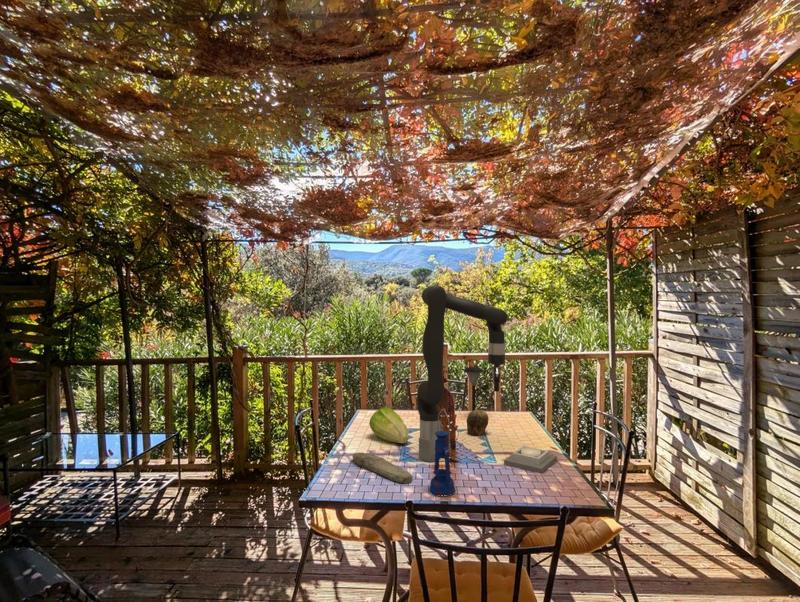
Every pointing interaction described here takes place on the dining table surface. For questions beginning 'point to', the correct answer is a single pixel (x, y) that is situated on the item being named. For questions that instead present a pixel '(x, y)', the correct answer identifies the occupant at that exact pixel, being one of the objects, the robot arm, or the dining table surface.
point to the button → (531, 451)
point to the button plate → (531, 461)
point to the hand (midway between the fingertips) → (496, 391)
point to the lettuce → (389, 426)
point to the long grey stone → (382, 467)
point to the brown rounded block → (477, 422)
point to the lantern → (442, 480)
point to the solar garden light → (473, 380)
